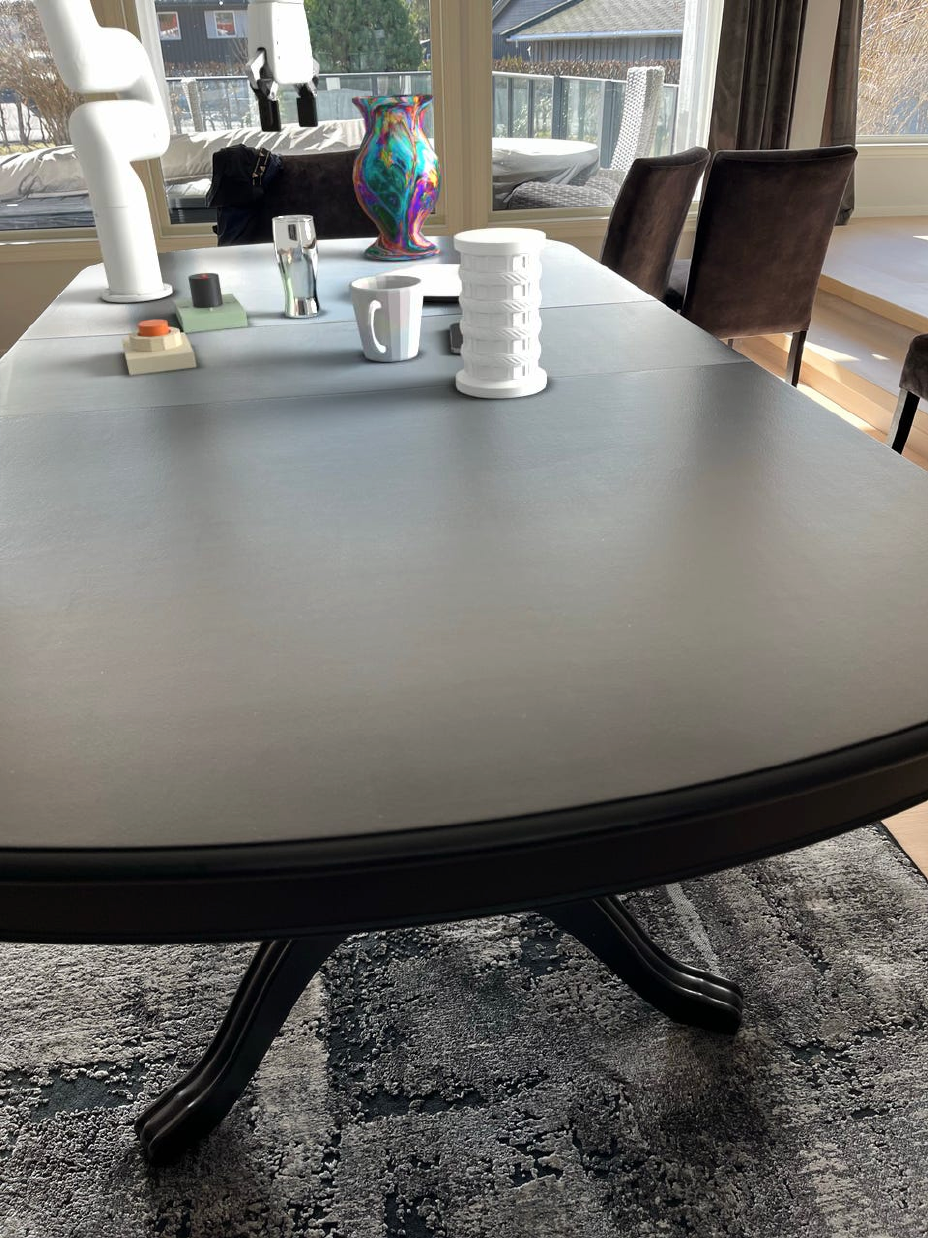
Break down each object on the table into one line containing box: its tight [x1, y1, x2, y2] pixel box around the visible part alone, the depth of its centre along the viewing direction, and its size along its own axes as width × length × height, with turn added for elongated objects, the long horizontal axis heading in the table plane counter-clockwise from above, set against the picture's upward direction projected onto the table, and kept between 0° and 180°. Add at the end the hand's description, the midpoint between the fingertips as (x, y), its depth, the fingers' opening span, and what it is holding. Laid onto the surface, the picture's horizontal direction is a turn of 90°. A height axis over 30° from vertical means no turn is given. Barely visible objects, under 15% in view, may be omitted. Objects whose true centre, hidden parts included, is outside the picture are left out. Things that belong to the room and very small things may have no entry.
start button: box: [137, 319, 169, 337], centre depth 133 cm, size 4×4×2 cm
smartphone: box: [449, 322, 463, 354], centre depth 140 cm, size 8×1×15 cm
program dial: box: [187, 272, 223, 308], centre depth 154 cm, size 5×5×5 cm
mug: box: [348, 275, 424, 363], centre depth 130 cm, size 10×15×10 cm
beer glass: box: [271, 214, 323, 319], centre depth 154 cm, size 7×7×15 cm
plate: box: [374, 263, 462, 303], centre depth 171 cm, size 27×27×2 cm
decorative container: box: [453, 227, 547, 399], centre depth 116 cm, size 12×12×18 cm
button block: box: [121, 326, 197, 376], centre depth 135 cm, size 12×9×4 cm
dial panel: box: [172, 293, 248, 334], centre depth 156 cm, size 14×10×3 cm
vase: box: [350, 93, 442, 261], centre depth 196 cm, size 18×18×30 cm
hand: (290, 129), depth 141 cm, fingers open, 9 cm apart
